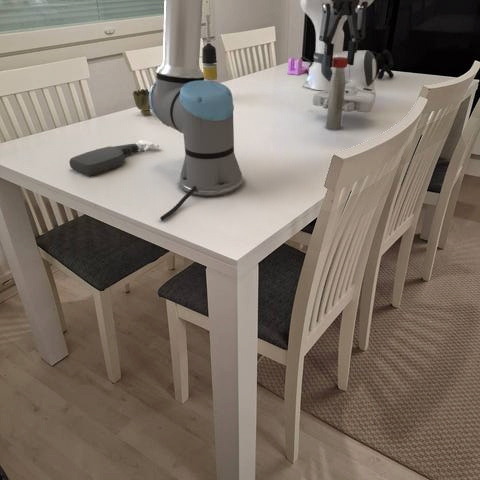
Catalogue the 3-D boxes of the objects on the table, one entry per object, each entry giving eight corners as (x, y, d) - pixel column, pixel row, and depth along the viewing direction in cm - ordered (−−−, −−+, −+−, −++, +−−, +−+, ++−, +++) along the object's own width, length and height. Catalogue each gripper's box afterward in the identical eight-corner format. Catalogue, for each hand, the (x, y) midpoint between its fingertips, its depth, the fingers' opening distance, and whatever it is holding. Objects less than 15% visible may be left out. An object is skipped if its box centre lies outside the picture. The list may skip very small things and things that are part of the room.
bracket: (297, 74, 213) (298, 59, 209) (287, 73, 216) (288, 58, 212) (311, 70, 222) (312, 55, 218) (301, 68, 225) (302, 54, 221)
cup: (131, 115, 161) (128, 92, 157) (144, 109, 166) (141, 87, 162) (147, 117, 158) (145, 94, 154) (160, 112, 163) (157, 89, 159)
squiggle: (382, 89, 208) (358, 69, 211) (398, 74, 207) (374, 53, 210) (386, 78, 197) (361, 56, 199) (403, 61, 196) (378, 40, 199)
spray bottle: (67, 168, 120) (139, 144, 136) (91, 178, 114) (163, 151, 130) (65, 157, 118) (137, 134, 134) (89, 167, 112) (162, 142, 128)
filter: (220, 99, 177) (217, 15, 161) (206, 100, 176) (202, 16, 160) (215, 96, 182) (212, 14, 166) (202, 97, 180) (197, 14, 164)
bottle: (326, 129, 144) (332, 62, 133) (325, 125, 148) (331, 59, 137) (341, 129, 144) (348, 62, 133) (340, 125, 148) (346, 59, 137)
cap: (330, 67, 135) (331, 59, 133) (333, 64, 138) (333, 56, 137) (345, 68, 133) (346, 60, 132) (347, 65, 137) (348, 57, 136)
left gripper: (322, -21, 118) (316, 70, 130) (386, -23, 123) (374, 65, 135) (309, -22, 124) (304, 66, 136) (370, -24, 129) (360, 60, 141)
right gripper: (321, 84, 154) (305, 93, 145) (380, 91, 145) (366, 101, 135) (320, 102, 158) (304, 112, 148) (377, 110, 148) (364, 121, 139)
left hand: (339, 65), depth 136 cm, fingers open, 7 cm apart
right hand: (334, 107), depth 141 cm, fingers closed on bottle, 5 cm apart
